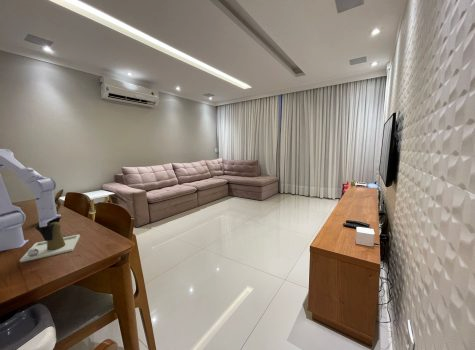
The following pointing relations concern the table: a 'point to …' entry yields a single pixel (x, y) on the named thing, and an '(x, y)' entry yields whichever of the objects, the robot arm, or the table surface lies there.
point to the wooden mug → (58, 200)
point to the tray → (43, 251)
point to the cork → (56, 238)
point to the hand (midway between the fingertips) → (51, 236)
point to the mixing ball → (32, 252)
